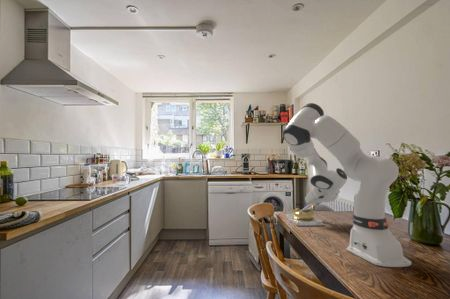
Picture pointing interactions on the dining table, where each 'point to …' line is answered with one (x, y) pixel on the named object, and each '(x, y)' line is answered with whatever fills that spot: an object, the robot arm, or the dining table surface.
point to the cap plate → (304, 221)
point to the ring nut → (304, 213)
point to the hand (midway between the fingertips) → (315, 204)
